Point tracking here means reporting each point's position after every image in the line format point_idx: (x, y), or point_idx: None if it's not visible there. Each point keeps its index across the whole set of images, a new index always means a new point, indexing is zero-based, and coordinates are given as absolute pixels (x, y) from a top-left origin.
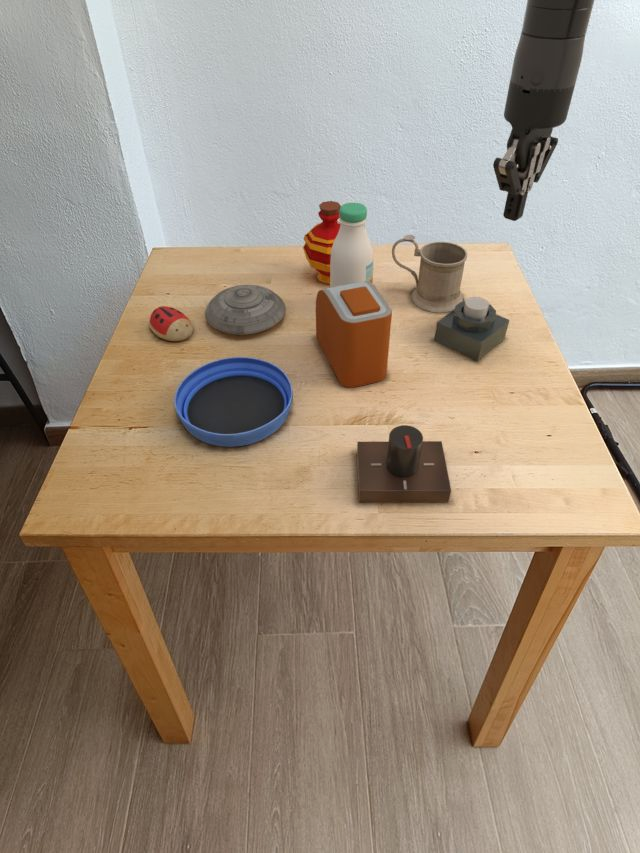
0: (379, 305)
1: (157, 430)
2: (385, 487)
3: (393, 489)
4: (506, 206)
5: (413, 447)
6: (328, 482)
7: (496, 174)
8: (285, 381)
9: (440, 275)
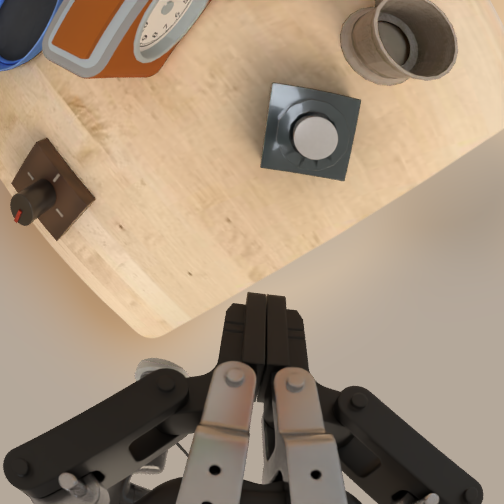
0: (100, 46)
1: None
2: None
3: None
4: (223, 330)
5: (19, 222)
6: (17, 144)
7: (58, 429)
8: None
9: (372, 45)
